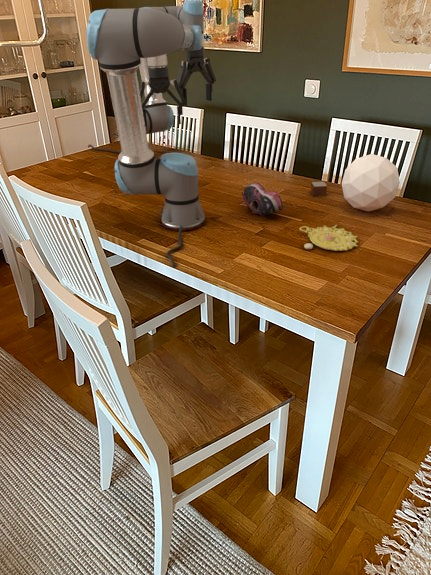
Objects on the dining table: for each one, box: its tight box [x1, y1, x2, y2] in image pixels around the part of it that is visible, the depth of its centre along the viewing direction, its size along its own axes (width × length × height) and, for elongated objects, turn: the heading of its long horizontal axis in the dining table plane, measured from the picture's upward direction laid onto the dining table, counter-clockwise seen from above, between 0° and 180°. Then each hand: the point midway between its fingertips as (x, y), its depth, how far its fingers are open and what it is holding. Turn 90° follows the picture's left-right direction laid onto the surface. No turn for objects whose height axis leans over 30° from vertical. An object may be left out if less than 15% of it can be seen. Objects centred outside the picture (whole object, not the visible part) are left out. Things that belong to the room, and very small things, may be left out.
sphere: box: [341, 153, 401, 213], centre depth 157 cm, size 19×20×20 cm
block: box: [310, 181, 328, 197], centre depth 174 cm, size 5×5×4 cm
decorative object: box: [299, 224, 359, 252], centre depth 141 cm, size 21×2×20 cm
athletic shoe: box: [238, 182, 284, 217], centre depth 160 cm, size 11×22×12 cm
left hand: (196, 102), depth 188 cm, fingers open, 13 cm apart
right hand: (162, 124), depth 179 cm, fingers open, 13 cm apart
